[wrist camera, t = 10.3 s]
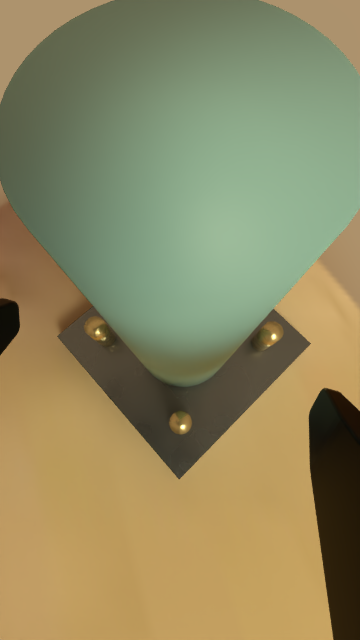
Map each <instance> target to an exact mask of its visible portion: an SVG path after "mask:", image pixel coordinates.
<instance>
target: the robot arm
mask: <svg viewBox="0 0 360 640" xmlns="http://www.w3.org/2000/svg"><path fill="white" fill-rule="evenodd" d="M19 328H20V321H19V307H18V304H17V303H16V302H15V301H11V300H8V299H4V298H1V299H0V355H1V354H2V353H3V351H4V350H5V349H6V347H7V346H8V345H9V344H10V342H11V341H12V340H13V339H14V337H15V336H16V335H17V333H18V331H19ZM309 449H310V472H311V480H312V488H313V495H314V502H315V509H316V516H317V524H318V531H319V538H320V545H321V553H322V560H323V567H324V574H325V582H326V589H327V596H328V603H329V610H330V618H331V625H332V632H333V639H334V640H360V411H359V410H358V409H357V408H356V407H355V406H354V405H353V404H352V403H351V402H350V401H349V400H348V399H347V398H345V397H344V396H343V395H342V394H341V393H340V392H338V391H335V390H331V389H328V388H324V389H322V390H321V391H320V393H319V395H318V397H317V399H316V400H315V402H314V404H313V406H312V408H311V410H310V413H309Z"/></svg>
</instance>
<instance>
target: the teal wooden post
mask: <svg viewBox="0 0 360 640" xmlns="http://www.w3.org/2000/svg"><path fill="white" fill-rule="evenodd" d="M0 181H1V184H2V187H3V190H4V192H5V194H6V196H7V198H8V200H9V202H10V204H11V206H12V208H13V210H14V211H15V213H16V214H17V215H18V217H19V218H20V219H21V221H22V222H23V223H24V225H25V226H26V228H27V229H28V230H29V231H30V232H31V234H32V235H33V236H34V237H35V238H36V239H37V241H38V242H39V243H40V244H41V245H42V247H43V248H44V249H45V250H46V251H47V252H48V254H49V255H50V256H51V257H52V258H53V259H54V261H55V262H56V263H57V264H58V265H59V266H60V268H61V269H62V270H63V271H64V272H65V274H66V275H67V276H68V277H69V278H70V279H71V281H72V282H73V283H74V284H75V285H76V286H77V288H78V289H79V290H80V291H81V292H82V293H83V295H84V296H85V297H86V298H87V299H88V301H89V302H90V303H91V304H92V305H93V306H94V308H95V309H96V310H97V311H98V312H99V313H100V315H101V316H102V317H103V318H104V319H105V320H106V322H107V323H108V324H109V325H110V326H111V328H112V329H113V330H114V331H115V332H116V333H117V335H118V336H119V337H120V338H121V339H122V340H123V342H124V343H125V344H126V345H127V346H128V347H129V349H130V350H131V351H132V352H133V353H134V355H135V356H136V357H137V358H138V359H139V360H140V362H141V363H142V364H143V365H144V366H145V367H146V369H147V370H148V371H149V372H150V373H151V374H152V375H153V376H154V377H156V378H157V379H158V380H160V381H162V382H164V383H166V384H168V385H172V386H178V387H189V386H194V385H198V384H200V383H203V382H205V381H206V380H208V379H210V378H211V377H212V376H213V375H214V374H215V373H216V372H217V371H218V370H219V369H220V368H221V367H222V366H223V364H224V363H225V362H226V361H227V360H228V359H229V358H230V357H231V356H232V354H233V353H234V352H235V351H236V350H237V349H238V348H239V347H240V345H241V344H242V343H243V342H244V341H245V340H246V339H247V338H248V336H249V335H250V334H251V333H252V332H253V331H254V330H255V329H256V328H257V326H258V325H259V324H260V323H261V322H262V321H263V320H264V319H265V317H266V316H267V315H268V314H269V313H270V312H271V311H272V310H273V308H274V307H275V306H276V305H277V304H278V303H279V302H280V301H281V299H282V298H283V297H284V296H285V295H286V294H287V293H288V292H289V291H290V289H291V288H292V287H293V286H294V285H295V284H296V283H297V282H298V280H299V279H300V278H301V277H302V276H303V275H304V274H305V273H306V271H307V270H308V269H309V268H310V267H311V266H312V265H313V264H314V263H315V261H316V260H317V259H318V258H319V257H320V256H321V255H322V253H323V252H324V251H325V250H326V249H327V248H328V247H329V246H330V245H331V243H332V242H333V241H334V240H335V239H336V238H337V237H338V235H340V233H341V232H342V231H343V230H344V229H345V228H346V227H347V225H348V224H349V223H350V221H351V220H352V218H353V217H354V216H355V214H356V213H357V211H358V210H359V208H360V76H359V74H358V72H357V71H356V69H355V68H354V66H353V65H352V64H351V63H350V61H349V60H348V59H347V57H346V56H345V55H344V53H343V52H341V50H340V49H339V48H337V47H336V46H335V45H334V44H333V43H332V42H331V41H330V40H329V39H328V38H327V37H326V36H324V35H323V34H322V33H321V32H319V31H318V30H317V29H315V28H314V27H313V26H311V25H310V24H308V23H306V22H305V21H303V20H301V19H300V18H298V17H297V16H295V15H293V14H291V13H289V12H287V11H284V10H282V9H280V8H278V7H276V6H273V5H270V4H267V3H265V2H262V1H259V0H114V1H111V2H108V3H106V4H103V5H101V6H98V7H96V8H93V9H91V10H89V11H87V12H85V13H83V14H81V15H79V16H77V17H75V18H73V19H72V20H70V21H69V22H67V23H66V24H64V25H63V26H61V27H59V28H58V29H57V30H55V31H54V32H53V33H51V34H50V35H49V36H48V37H47V38H45V39H44V40H43V41H42V42H41V43H40V44H39V45H38V46H37V47H36V48H35V49H34V50H33V51H32V52H31V53H30V54H29V55H28V56H27V57H26V59H25V60H24V61H23V63H22V64H21V65H20V67H19V68H18V69H17V71H16V72H15V74H14V76H13V77H12V79H11V81H10V83H9V85H8V87H7V88H6V90H5V93H4V95H3V99H2V101H1V104H0Z"/></svg>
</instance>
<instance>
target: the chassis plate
mask: <svg viewBox="0 0 360 640" xmlns="http://www.w3.org/2000/svg"><path fill="white" fill-rule="evenodd" d="M57 337H58V338H59V339H60V340H61V341H62V343H63V344H64V345H65V346H66V347H67V348H68V350H69V351H70V352H71V353H72V354H73V355H74V357H75V358H76V359H77V360H78V361H79V362H80V364H81V365H82V366H83V367H84V368H85V370H86V371H87V372H88V373H89V374H90V375H91V377H92V378H93V379H94V380H95V381H96V382H97V384H98V385H99V386H100V387H101V388H102V389H103V391H104V392H105V393H106V394H107V395H108V396H109V398H110V399H111V400H112V401H113V402H114V404H115V405H116V406H117V407H118V408H119V409H120V411H121V412H122V413H123V414H124V415H125V416H126V418H127V419H128V420H129V421H130V422H131V423H132V425H133V426H134V427H135V428H136V429H137V430H138V432H139V433H140V434H141V435H142V436H143V438H144V439H145V440H146V441H147V442H148V443H149V445H150V446H151V447H152V448H153V449H154V450H155V452H156V453H157V454H158V455H159V456H160V457H161V459H162V460H163V461H164V462H165V463H166V465H167V466H168V467H169V468H170V469H171V470H172V472H173V473H174V474H175V475H176V476H177V477H178V479H180V478H181V477H182V476H183V475H184V474H185V473H186V472H187V471H188V470H189V469H190V468H191V467H192V466H193V465H194V464H195V463H196V462H197V460H198V459H199V458H200V457H201V456H202V455H203V454H204V453H205V452H206V451H207V450H208V449H209V448H210V447H211V446H212V445H213V444H214V443H215V442H216V441H217V440H218V439H219V438H220V437H221V436H222V435H223V434H224V433H225V432H226V431H227V430H228V428H229V427H230V426H231V425H232V424H233V423H234V422H235V421H236V420H237V419H238V418H239V417H240V416H241V415H242V414H243V413H244V412H245V411H246V410H247V409H248V408H249V407H250V406H251V405H252V404H253V403H254V402H255V401H256V400H257V399H258V398H259V397H260V395H261V394H262V393H263V392H264V391H265V390H266V389H267V388H268V387H269V386H270V385H271V384H272V383H273V382H274V381H275V380H276V379H277V378H278V377H279V376H280V375H281V374H282V373H283V372H284V371H285V370H286V369H287V368H288V367H289V366H290V365H291V364H292V362H293V361H294V360H295V359H296V358H297V357H298V356H299V355H300V354H301V353H302V352H303V351H304V350H305V349H306V348H307V347H308V346H309V345H310V344H311V343H310V342H309V341H307V340H306V339H305V338H304V337H303V336H302V335H301V334H300V333H299V332H298V331H297V330H296V329H295V328H293V327H292V326H291V325H290V324H289V323H288V322H287V321H286V320H285V319H284V318H283V317H282V316H281V315H279V314H278V313H277V312H276V311H275V310H274V309H273V310H272V311H271V312H270V313H269V314H268V315H267V316H266V317H265V319H264V320H263V321H262V322H261V323H260V324H259V325H258V326H257V328H256V329H255V330H254V331H253V332H252V333H251V334H250V335H249V336H248V338H247V339H246V340H245V341H244V342H243V343H242V344H241V345H240V347H239V348H238V349H237V350H236V351H235V352H234V353H233V354H232V356H231V357H230V358H229V359H228V360H227V361H226V362H225V363H224V364H223V366H222V367H221V368H220V369H219V370H218V371H217V372H216V373H215V374H214V375H213V376H212V377H211V378H210V379H208V380H206V381H205V382H203V383H200V384H198V385H194V386H189V387H178V386H172V385H168V384H166V383H164V382H162V381H160V380H158V379H157V378H156V377H154V376H153V375H152V374H151V373H150V372H149V371H148V370H147V369H146V367H145V366H144V365H143V364H142V363H141V362H140V360H139V359H138V358H137V357H136V356H135V355H134V353H133V352H132V351H131V350H130V349H129V347H128V346H127V345H126V344H125V343H124V342H123V340H122V339H121V338H120V337H119V336H118V335H117V333H116V332H115V331H114V330H113V329H112V328H111V326H110V325H109V324H108V323H107V322H106V320H105V319H104V318H103V317H102V316H101V315H100V313H99V312H98V311H97V310H96V309H95V308H94V306H93V307H92V308H90V309H89V310H88V311H87V312H86V313H84V314H83V315H82V316H81V317H80V318H78V319H77V320H76V321H75V322H74V323H72V324H71V325H70V326H69V327H68V328H66V329H65V330H64V331H63V332H62V333H60V334H59V335H58V336H57Z"/></svg>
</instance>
